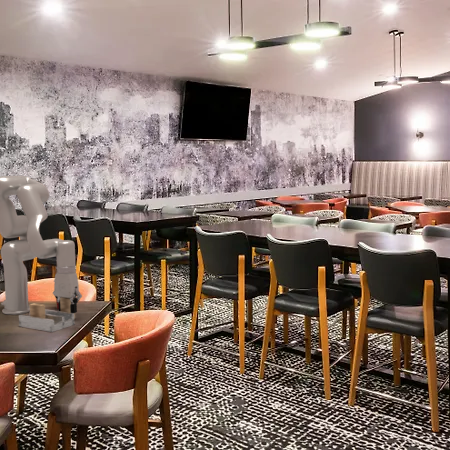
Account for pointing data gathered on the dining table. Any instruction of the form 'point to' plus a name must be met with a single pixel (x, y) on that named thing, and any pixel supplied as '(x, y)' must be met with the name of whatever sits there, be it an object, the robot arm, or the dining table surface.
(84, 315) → the dining table surface
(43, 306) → the oak board
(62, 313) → the rack
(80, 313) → the dining table surface
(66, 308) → the beech board
